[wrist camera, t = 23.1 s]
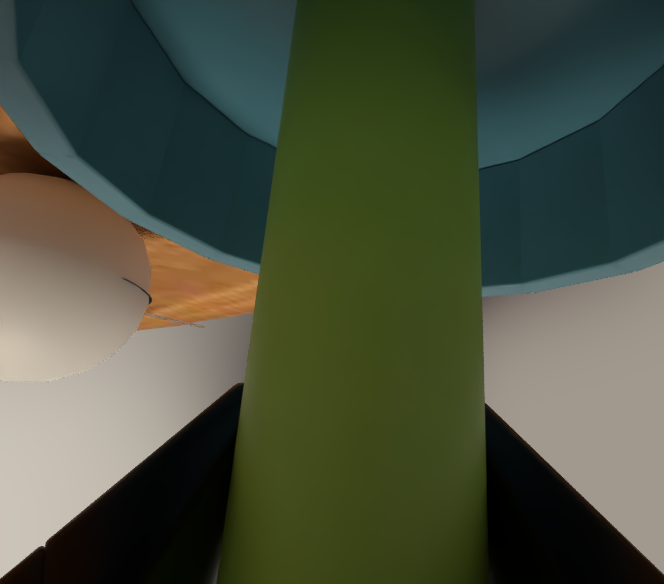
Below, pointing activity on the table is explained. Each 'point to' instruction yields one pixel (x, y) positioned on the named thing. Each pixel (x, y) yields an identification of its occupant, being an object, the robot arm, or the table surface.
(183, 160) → the tin
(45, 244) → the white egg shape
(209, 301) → the table surface
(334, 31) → the glue stick
